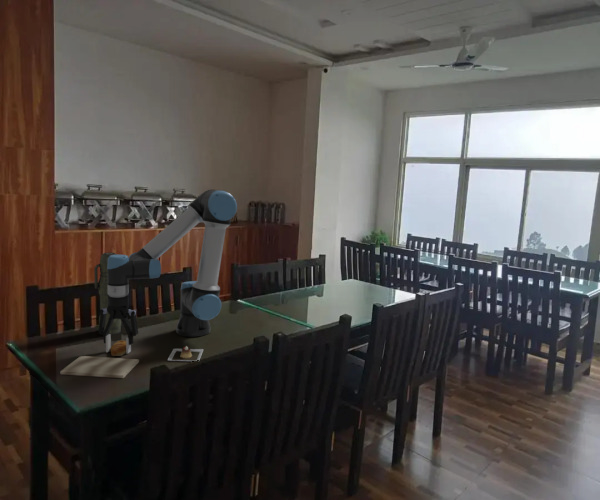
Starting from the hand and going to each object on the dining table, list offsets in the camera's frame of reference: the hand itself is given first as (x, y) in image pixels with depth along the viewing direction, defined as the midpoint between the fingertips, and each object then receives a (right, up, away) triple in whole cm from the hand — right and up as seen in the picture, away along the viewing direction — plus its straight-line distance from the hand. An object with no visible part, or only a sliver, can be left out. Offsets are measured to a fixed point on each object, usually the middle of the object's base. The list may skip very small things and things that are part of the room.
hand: (118, 351), depth 180 cm
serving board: (0, -3, -15) cm, 15 cm away
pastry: (0, -1, +1) cm, 1 cm away
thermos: (-12, +4, +22) cm, 26 cm away
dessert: (+26, -2, 0) cm, 27 cm away
